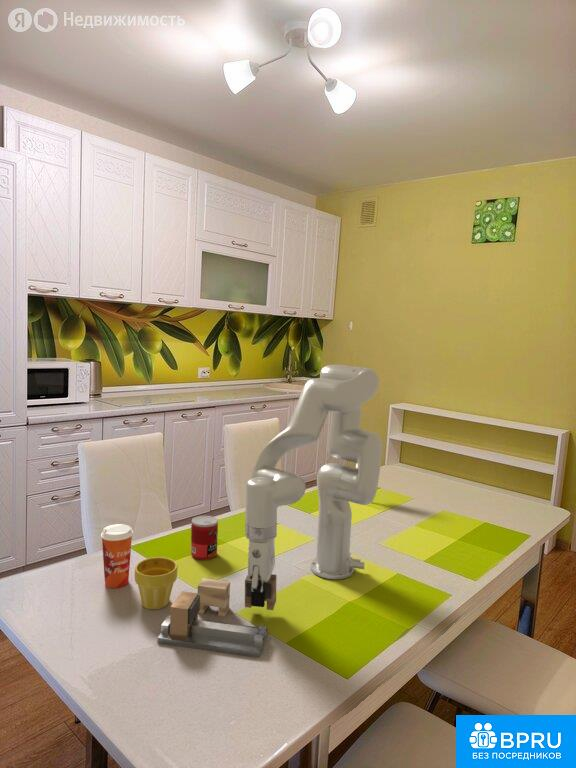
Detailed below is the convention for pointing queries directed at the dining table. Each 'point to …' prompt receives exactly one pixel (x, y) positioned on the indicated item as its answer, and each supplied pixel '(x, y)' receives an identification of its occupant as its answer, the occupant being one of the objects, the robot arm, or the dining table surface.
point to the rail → (215, 643)
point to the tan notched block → (214, 595)
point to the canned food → (204, 537)
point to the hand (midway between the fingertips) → (260, 599)
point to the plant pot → (155, 581)
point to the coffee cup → (116, 554)
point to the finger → (268, 588)
